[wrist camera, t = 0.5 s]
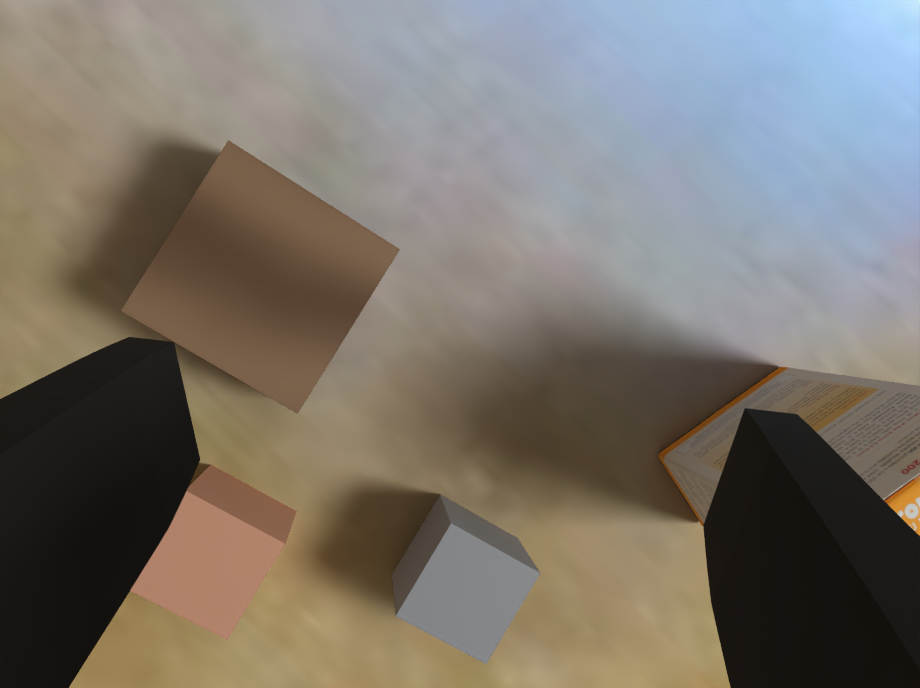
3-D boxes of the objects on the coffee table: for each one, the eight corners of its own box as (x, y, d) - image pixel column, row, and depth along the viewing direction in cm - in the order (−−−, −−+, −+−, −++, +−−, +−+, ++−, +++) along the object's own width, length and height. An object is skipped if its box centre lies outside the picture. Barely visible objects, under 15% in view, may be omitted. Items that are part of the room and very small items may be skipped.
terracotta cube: (246, 593, 32) (227, 639, 28) (159, 548, 31) (125, 588, 27) (296, 510, 32) (285, 543, 28) (210, 464, 32) (185, 490, 27)
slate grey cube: (470, 616, 34) (486, 664, 29) (391, 573, 33) (395, 616, 29) (517, 537, 34) (540, 573, 29) (439, 493, 33) (451, 523, 29)
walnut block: (306, 400, 32) (297, 413, 28) (152, 309, 31) (120, 310, 27) (395, 256, 32) (399, 249, 28) (246, 160, 31) (228, 140, 27)
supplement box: (700, 529, 35) (897, 661, 22) (653, 452, 34) (826, 542, 21) (828, 438, 36) (1091, 515, 23) (783, 361, 35) (1027, 395, 22)
